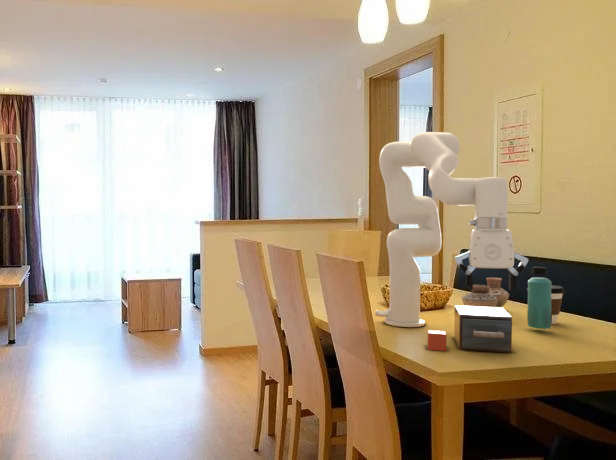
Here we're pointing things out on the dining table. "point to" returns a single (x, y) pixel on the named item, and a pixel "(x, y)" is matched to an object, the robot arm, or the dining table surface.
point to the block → (437, 340)
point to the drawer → (486, 333)
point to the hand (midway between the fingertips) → (490, 289)
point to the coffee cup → (556, 301)
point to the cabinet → (479, 313)
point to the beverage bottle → (539, 300)
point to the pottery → (487, 295)
